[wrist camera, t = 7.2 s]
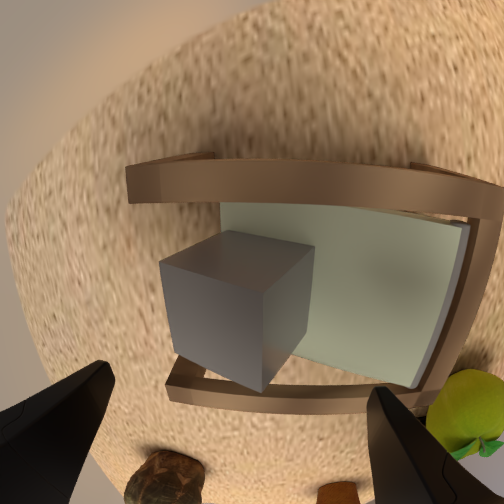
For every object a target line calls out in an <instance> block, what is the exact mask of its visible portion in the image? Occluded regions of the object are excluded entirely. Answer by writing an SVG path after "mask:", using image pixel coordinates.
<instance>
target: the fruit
mask: <svg viewBox="0 0 504 504" xmlns="http://www.w3.org/2000/svg"><path fill="white" fill-rule="evenodd" d="M426 429H427V430H428V431H429V432H430V433H431V434H432V435H433V436H434V437H435V438H436V439H437V440H438V441H439V442H440V444H441V445H442V446H443V447H444V448H445V449H446V450H447V452H449V453H450V454H451V455H452V456H453V457H454V458H455V459H456V460H457V461H458V460H459V459H463V458H465V457H466V456H469V455H472V454H475V453H477V452H478V451H480V452H479V455H480V456H482V457H489V456H491V455H492V454H493V453H494V452H495V451H496V450H497V449H498V448H500V447H501V446H502V445H503V444H504V442H501V441H495V440H496V439H498V438H499V437H500V435H501V434H502V432H503V431H504V381H503V380H501V379H500V378H499V377H497V376H495V375H493V374H490V373H487V372H484V371H481V370H476V369H466V370H462V371H459V372H457V373H455V374H453V375H451V376H450V377H449V378H448V379H447V380H446V382H445V384H444V386H443V388H442V389H441V391H440V393H439V395H438V396H437V398H436V400H435V401H434V403H433V405H429V408H428V412H427V417H426Z"/></svg>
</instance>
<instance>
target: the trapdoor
mask: <svg viewBox="0 0 504 504" xmlns="http://www.w3.org/2000/svg"><path fill="white" fill-rule="evenodd" d="M220 222H221V232H223V231H226V230H231V231H237V232H242V233H248V234H253V235H259V236H264V237H269V238H275V239H280V240H285V241H291V242H296V243H301V244H306V245H312V246H315V256H314V268H313V279H312V289H311V299H310V308H309V317H308V326H307V333H306V334H305V336H304V337H303V338H302V340H301V341H300V343H299V344H298V345H297V347H296V348H295V350H294V351H293V352H292V355H295V356H298V357H301V358H305V359H308V360H311V361H314V362H317V363H321V364H324V365H327V366H330V367H334V368H337V369H341V370H344V371H348V372H351V373H355V374H358V375H362V376H366V377H370V378H374V379H377V380H381V381H385V382H389V383H394V384H398V385H402V386H405V387H407V388H409V389H413V388H416V387H417V386H418V384H419V382H420V379H421V377H422V375H423V373H424V371H425V369H426V367H427V364H428V362H429V360H430V358H431V355H432V353H433V351H434V348H435V346H436V343H437V341H438V338H439V336H440V333H441V331H442V328H443V325H444V322H445V320H446V317H447V314H448V311H449V308H450V305H451V302H452V299H453V296H454V292H455V289H456V286H457V282H458V279H459V275H460V271H461V268H462V264H463V260H464V255H465V251H466V247H467V242H468V237H469V232H470V227H471V225H470V224H468V223H466V222H463V221H460V220H450V221H449V220H444V219H440V218H435V217H430V216H425V215H419V214H414V213H409V212H403V211H398V210H392V209H379V208H365V207H349V206H332V205H311V204H284V203H240V202H220Z"/></svg>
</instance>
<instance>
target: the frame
mask: <svg viewBox="0 0 504 504" xmlns="http://www.w3.org/2000/svg"><path fill="white" fill-rule="evenodd" d="M125 168H126V181H127V192H128V202H129V204H136V203H180V202H240V203H284V204H311V205H332V206H349V207H365V208H379V209H392V210H404V211H415V212H425V213H435V214H445V215H454V216H462V217H468V220H467V223H468V224H470V225H471V227H470V232H469V237H468V242H467V247H466V251H465V255H464V260H463V264H462V268H461V271H460V275H459V279H458V282H457V286H456V289H455V292H454V296H453V299H452V302H451V305H450V308H449V311H448V314H447V317H446V320H445V322H444V325H443V328H442V331H441V333H440V336H439V338H438V341H437V343H436V346H435V348H434V351H433V353H432V355H431V358H430V360H429V362H428V364H427V367H426V369H425V371H424V373H423V375H422V377H421V379H420V382H419V384H418V386H417V387H416V388H413V389H409V388H407V387H405V386H402V385H398V384H394V383H380V384H363V385H279V384H268V386H267V387H266V388H265V389H264V391H263V392H262V393H260V392H257V391H255V390H252V389H250V388H248V387H245V386H243V385H241V384H239V383H236V382H234V381H227V380H218V379H209V378H203V377H204V374H205V372H206V368H204V367H202V366H200V365H198V364H196V363H194V362H192V361H190V360H188V359H186V358H184V357H183V356H181V355H179V356H178V358H177V360H176V362H175V364H174V366H173V368H172V370H171V373H170V375H169V377H168V379H167V381H166V383H165V387H166V390H167V393H168V396H169V400H170V401H173V402H179V403H184V404H190V405H196V406H203V407H210V408H217V409H225V410H234V411H244V412H256V413H271V414H295V415H332V414H356V413H367V409H366V407H367V401H368V399H369V396H370V394H371V391H372V389H373V388H374V387H375V386H387V387H388V388H389V389H390V390H391V391H392V393H393V394H394V395H395V396H396V397H397V398H398V399H399V400H400V401H401V402H402V403H403V404H404V405H405V406H406V407H407V408H415V407H421V406H428V405H433V403H434V401H435V400H436V398H437V396H438V395H439V393H440V391H441V389H442V388H443V386H444V384H445V382H446V380H447V378H448V376H449V375H450V373H451V371H452V369H453V367H454V365H455V363H456V361H457V358H458V356H459V354H460V352H461V350H462V348H463V346H464V343H465V341H466V339H467V336H468V334H469V332H470V329H471V327H472V324H473V322H474V319H475V317H476V314H477V311H478V309H479V306H480V303H481V300H482V297H483V294H484V291H485V288H486V285H487V282H488V279H489V275H490V272H491V268H492V265H493V261H494V257H495V253H496V249H497V245H498V240H499V236H500V231H501V226H502V221H503V215H504V187H501V186H498V185H495V184H492V183H489V182H486V181H483V180H480V179H477V178H474V177H471V176H467V175H464V174H460V173H457V172H453V171H450V170H446V169H442V168H439V167H435V166H431V165H425V164H419V163H412V162H411V165H410V169H405V168H397V167H389V166H380V165H370V164H360V163H348V162H334V161H318V160H295V159H214V152H206V153H190V154H184V155H179V156H173V157H168V158H163V159H158V160H153V161H148V162H144V163H139V164H135V165H130V166H126V167H125Z"/></svg>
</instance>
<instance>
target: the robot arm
mask: <svg viewBox="0 0 504 504" xmlns="http://www.w3.org/2000/svg"><path fill="white" fill-rule="evenodd" d="M114 385H115V376H114V374H113V371H112V369H111V366H110V364H109V363H108V362H107V361H103V360H97V361H95V362H93V363H91V364H89V365H88V366H86V367H84V368H82V369H80V370H79V371H77V372H75V373H73V374H71V375H70V376H68V377H66V378H64V379H62V380H60V381H59V382H57V383H55V384H53V385H51V386H50V387H48V388H46V389H44V390H42V391H40V392H39V393H37V394H35V395H33V396H31V397H29V398H27V399H26V400H24V401H22V402H20V403H18V404H16V405H14V406H12V407H10V408H8V409H6V410H3V411H1V412H0V504H69V501H70V498H71V495H72V492H73V490H74V487H75V485H76V482H77V479H78V477H79V474H80V472H81V469H82V467H83V464H84V462H85V459H86V457H87V454H88V452H89V450H90V447H91V445H92V443H93V440H94V438H95V436H96V433H97V431H98V429H99V427H100V424H101V422H102V420H103V417H104V415H105V412H106V409H107V406H108V403H109V400H110V397H111V393H112V391H113V388H114ZM366 409H367V429H368V449H369V457H370V463H371V471H372V478H373V486H374V495H375V504H504V498H503V497H501V496H499V495H496V494H495V493H494V492H492V491H491V490H490V489H489V488H487V487H486V486H485V485H484V484H482V483H481V482H480V481H479V480H478V479H476V478H475V477H474V476H473V475H472V474H470V473H469V472H468V471H467V470H465V468H464V467H463V466H461V464H460V463H459V462H458V461H457V460H456V459H455V458H454V457H453V456H452V455H451V454H450V453H449V452H447V450H446V449H445V448H444V447H443V446H442V445H441V444H440V442H439V441H438V440H437V439H436V438H435V437H434V436H433V435H432V434H431V433H430V432H429V431H428V430H427V429H426V417H425V418H419V419H417V418H416V417H415V416H414V415H413V414H412V413H411V412H410V411H409V409H408V408H407V407H406V406H405V405H404V404H403V403H402V402H401V401H400V400H399V399H398V398H397V397H396V396H395V395H394V394H393V393H392V391H391V390H390V389H389V388H388V387H387V386H375V387H374V388H373V389H372V391H371V394H370V396H369V399H368V401H367V407H366Z"/></svg>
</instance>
